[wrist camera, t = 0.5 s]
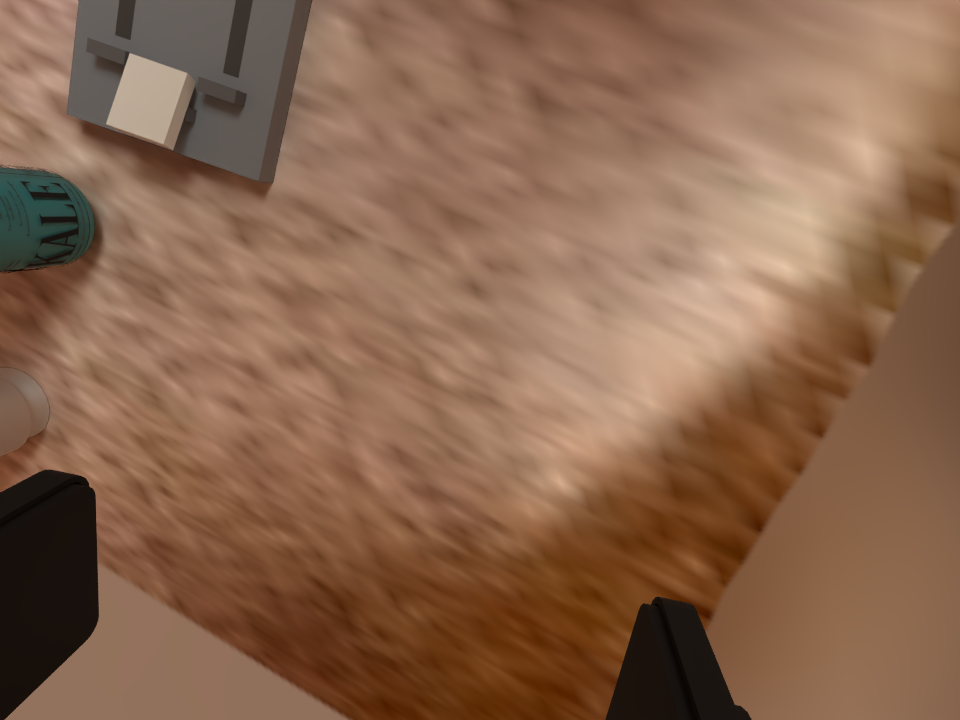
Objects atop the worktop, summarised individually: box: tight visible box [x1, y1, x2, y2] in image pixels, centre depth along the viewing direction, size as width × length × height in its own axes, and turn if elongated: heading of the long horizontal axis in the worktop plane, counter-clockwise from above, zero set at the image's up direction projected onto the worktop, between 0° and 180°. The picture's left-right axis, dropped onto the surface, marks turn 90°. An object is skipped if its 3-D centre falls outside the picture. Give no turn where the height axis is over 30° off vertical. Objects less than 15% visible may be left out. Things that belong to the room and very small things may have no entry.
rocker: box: [106, 53, 196, 150], centre depth 33 cm, size 4×4×1 cm
